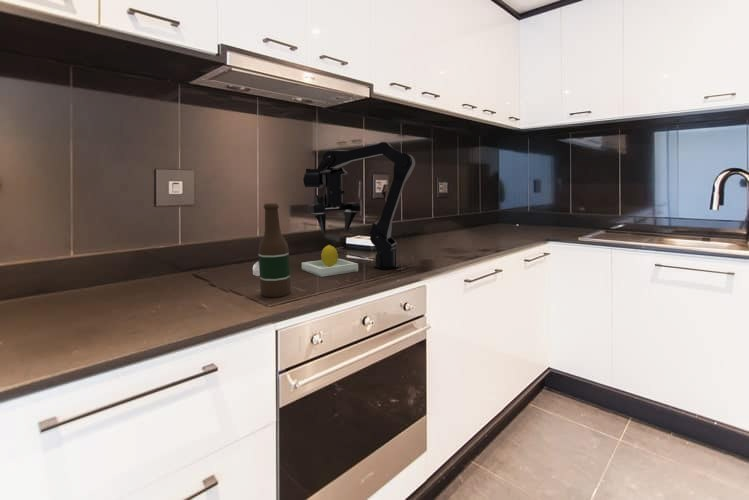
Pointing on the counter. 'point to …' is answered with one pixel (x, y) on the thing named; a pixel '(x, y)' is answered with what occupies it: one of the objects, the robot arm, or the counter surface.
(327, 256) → the lemon
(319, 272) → the tray
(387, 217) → the robot arm
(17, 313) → the counter surface
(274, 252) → the beer bottle
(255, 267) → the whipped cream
